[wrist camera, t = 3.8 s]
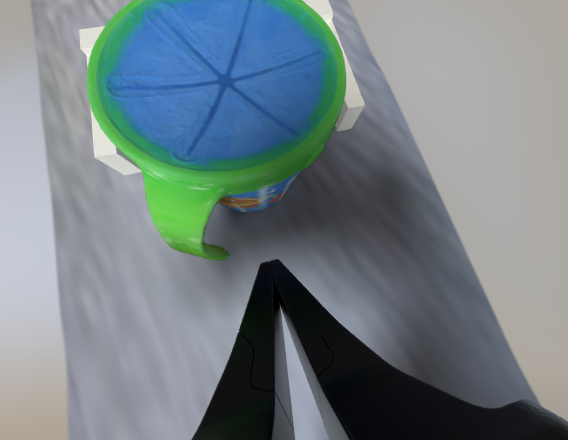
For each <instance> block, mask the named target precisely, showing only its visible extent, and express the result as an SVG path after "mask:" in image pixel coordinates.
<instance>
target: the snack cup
mask: <svg viewBox="0 0 568 440" xmlns="http://www.w3.org/2000/svg"><path fill="white" fill-rule="evenodd" d="M87 91H88V98H89V102H90V104H91V109H92V112H93V114H94V116H95V119H96V121H97V122H98V123H99V126H100V128H101V130H102V131H103V132H104V133H105V135H106V136H107V137H108V138H109V139H110V141H111V142H112V143H113V144H114V145H115V146H116V147H117V148H118V149H119V150H120V151H121V152H123V153H124V154H125V155H126V156H127V157H128V158H130V159H131V160H132V161H133V162H134V163H135V164H137V166H138V167H139V168H140V170H141V172H142V174H143V178H144V185H145V193H146V199H147V202H148V208H149V210H150V214H151V216H152V220H153V223H154V225H155V227H156V229H157V231H158V232H159V234H160V236H161V237H162V238H163V240H164V241H165V242H166V243H167V244H168V245H169V246H170V247H171V248H173V249H175V250H177V251H180V252H184V253H189V254H192V255H196V256H200V257H203V258H206V259H212V260H224V259H227V258H228V257H229V255H230V254H229V253H228V251H226V250H225V249H224V248H222V247H219V246H215V245H209V244H206V243H203V241H204V235H205V228H206V224H207V222H208V219H209V217H210V215H211V213H212V210H213V208H214V207H215V205H216V204H217V203H219V204H221V205H223V206H225V207H227V208H229V209H232V210H234V211H240V212H252V211H260V210H263V209H266V208H268V207H270V206H272V205H274V204H275V203H277V202H278V201H279V200H280V199H282V197H283V196H284V195H285V194H286V193H287V191H288V190H289V189H290V187H291V185H292V183H293V182H294V181H295V179H296V178H297V176H298V175H299V173H300V172H301V171H302V170H304V169H306V168H307V167H308V166H310V165H311V164H312V163H313V162H314V161H315V160H316V159H317V158H318V157H319V156H320V155H321V153H322V152H323V150H324V145H325V144H326V142H327V140H328V139H329V137H330V135H331V133H332V131H333V129H334V127H335V124H336V122H337V121H338V118H339V115H340V112H341V109H342V106H343V103H344V98H345V93H346V68H345V62H344V57H343V54H342V50H341V48H340V45H339V43H338V41H337V39H336V37H335V35H334V34H333V32H332V31H331V29H330V28H329V26H328V25H327V24H326V22H325V21H324V20H323V18H322V17H321V16H320V15H319V14H318V13H317V12H316V11H315V10H313V9H312V8H311V7H310V6H308V5H307V4H306V3H305V2H304V1H302V0H133V1H131V2H130V3H129V4H128V5H127V6H125V7H123V8H122V9H121V10H120V11H119V12H118V13H117V14H116V15H115V16H114V17H113V18H112V19H111V20H110V21H109V22H108V24H107V25H106V26H105V27H104V29H103V31H102V32H101V33H100V35H99V37H98V39H97V40H96V42H95V45H94V47H93V49H92V51H91V55H90V58H89V63H88V67H87Z"/></svg>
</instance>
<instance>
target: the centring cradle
mask: <svg viewBox="0 0 568 440" xmlns="http://www.w3.org/2000/svg"><path fill="white" fill-rule="evenodd" d="M302 1H304V2H305V3H306V4H307V5H308V6H310V7H311V8H312V9H313V10H315V11H316V12H317V13H318V14H319V15H320V16H321V17H322V18H323V20H324V21H325V22H326V24H327V25H328V26H329V28H330V29H331V31H332V32H333V34H334V35H335V37H336V39H337V41H338V43H339V45H340V48H341V50H342V54H343V57H344V62H345V68H346V93H345V98H344V103H343V106H342V109H341V112H340V115H339V118H338V121H337V122H336V124H335V128H336V131H337V132H339V131H344V130H348V129H352V127H353V125H354V124H355V122H356V120H357V118H358V117H359V115H360V113H361V112H362V110H363V108H364V106H365V103H364V101H363V98H362V96H361V93H360V91H359V88H358V85H357V83H356V80H355V78H354V75H353V73H352V70H351V68H350V65H349V63H348V60H347V58H346V55H345V52H344V50H343V47H342V45H341V42H340V40H339V37H338V35H337V32H336V30H335V27H334V25H333V22H332V17H333V11H332V9H331V6H330V4H329V1H328V0H302ZM104 27H105V26H103V27H96V28H88V29H81V30H79V31H80V45H81V50H82V51H83V52H84V53H85V54H86V56H87V67H88V63H89V58H90V55H91V51H92V49H93V47H94V45H95V42H96V40H97V39H98V37H99V35H100V33H101V32H102V31H103V29H104ZM90 105H91V104H90ZM91 117H92V130H93V143H94V155H95V158H97V159H98V160H100V161H102V162H103V163H105V164H107V165H108V166H110V167H112V168H113V169H115V170H117V171H118V172H120V173H122V174H123V175H129V174H134V173H139V172H141V170H140V168H139V167H138V166H137V164H135V163H134V162H133V161H132V160H131V159H130V158H128V157H127V156H126V155H125V154H124V153H123V152H121V151H120V150H119V149H118V148H117V147H116V146H115V145H114V144H113V143H112V142H111V141H110V139H109V138H108V137H107V136H106V135H105V133H104V132H103V131H102V130H101V128H100V126H99V123H98V122H97V121H96V119H95V116H94V114H93V112H92V109H91Z"/></svg>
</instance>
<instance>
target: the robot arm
mask: <svg viewBox="0 0 568 440" xmlns="http://www.w3.org/2000/svg"><path fill="white" fill-rule="evenodd" d="M279 302H280V303H279ZM280 306H281V308H280ZM281 309H282V312H283V315H284V318H285V320H286V323H287V326H288V328H289V331H290V334H291V337H292V339H293V342H294V345H295V347H296V350H297V353H298V355H299V358H300V361H301V364H302V366H303V369H304V372H305V374H306V377H307V380H308V382H309V385H310V388H311V391H312V393H313V396H314V399H315V401H316V404H317V407H318V409H319V412H320V415H321V418H322V420H323V423H324V426H325V428H326V431H327V434H328V437H329V439H330V440H568V422H567V421H566V420H564V419H563V418H561V417H559V416H557V415H556V414H554V413H552V412H550V411H549V410H547V409H545V408H543V407H541V406H539V405H537V404H535V403H534V402H532V401H530V400H526V399H525V400H519V401H516V402H513V403H511V404H508V405H505V406H503V407H500V408H494V409H493V408H483V407H479V406H476V405H473V404H470V403H468V402H465V401H463V400H461V399H459V398H457V397H454V396H452V395H450V394H448V393H446V392H444V391H442V390H440V389H437V388H435V387H433V386H431V385H429V384H427V383H425V382H423V381H420V380H418V379H416V378H414V377H412V376H410V375H408V374H406V373H403V372H402V371H400V370H398V369H396V368H394V367H393V366H391V365H390V364H389V363H387V362H386V361H384V360H383V359H382V358H381V357H379V356H378V355H377V354H376V353H375V352H373V351H372V350H371V349H370V348H369V347H367V346H366V345H365V344H364V343H363V342H361V341H360V340H359V339H358V338H357V337H355V336H354V335H353V334H352V333H351V332H349V331H348V330H347V329H346V328H345V327H344V326H343V325H341V324H340V323H339V322H338V321H337V320H336V319H335V318H334V317H333V316H332V315H331V314H330V313H329V312H328V311H327V310H326V309H325V308H324V307H323V306H322V305H321V304H320V302H319V301H318V300H317V299H316V298H315V297H314V296H313V295H312V294H311V293H310V292H309V291H308V290H307V289H306V288H305V287H304V286H303V285H302V283H301V282H300V281H299V280H298V279H297V278H296V277H295V276H294V275H293V274H292V273H291V272H290V271H289V270H288V269H287V268H286V267H285V266H284V265H283V263H282V262H281V261H280V260H279V259H275V260H271V261H270V262H269V261H267V262H264V263H261V264H260V267H259V270H258V273H257V276H256V279H255V282H254V285H253V288H252V291H251V295H250V298H249V301H248V304H247V307H246V310H245V313H244V316H243V319H242V322H241V325H240V329H239V332H238V334H237V338H236V341H235V344H234V346H233V349H232V352H231V355H230V357H229V360H228V362H227V365H226V367H225V370H224V372H223V374H222V377H221V379H220V381H219V383H218V386H217V388H216V390H215V392H214V395H213V397H212V399H211V401H210V404H209V406H208V408H207V410H206V413H205V415H204V417H203V419H202V421H201V424H200V425H199V427H198V429H197V431H196V433H195V435H194V436H193V438H192V440H295V434H294V425H293V416H292V407H291V398H290V389H289V380H288V371H287V362H286V353H285V343H284V334H283V325H282V316H281Z"/></svg>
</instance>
